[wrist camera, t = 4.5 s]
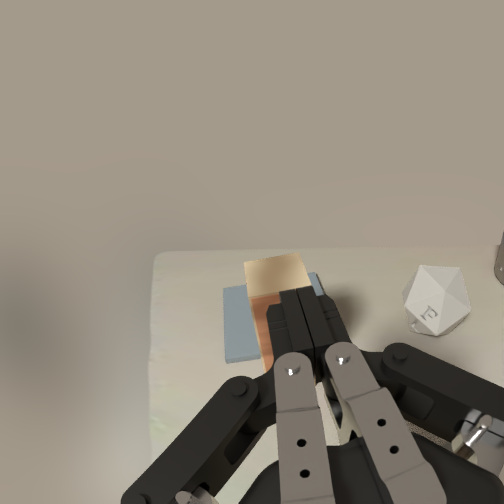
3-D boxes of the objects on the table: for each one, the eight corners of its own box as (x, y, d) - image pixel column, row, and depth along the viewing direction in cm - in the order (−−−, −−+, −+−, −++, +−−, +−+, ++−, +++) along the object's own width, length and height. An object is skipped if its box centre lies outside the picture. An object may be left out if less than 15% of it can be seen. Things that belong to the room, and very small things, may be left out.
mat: (314, 276, 48) (314, 272, 48) (341, 341, 36) (341, 337, 36) (224, 292, 48) (223, 288, 48) (226, 363, 36) (225, 359, 36)
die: (385, 313, 40) (391, 297, 31) (424, 265, 40) (438, 237, 31) (429, 353, 35) (447, 349, 27) (467, 302, 36) (492, 283, 27)
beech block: (306, 353, 36) (298, 252, 29) (315, 387, 31) (312, 286, 24) (264, 360, 36) (243, 262, 29) (269, 395, 31) (248, 297, 24)
